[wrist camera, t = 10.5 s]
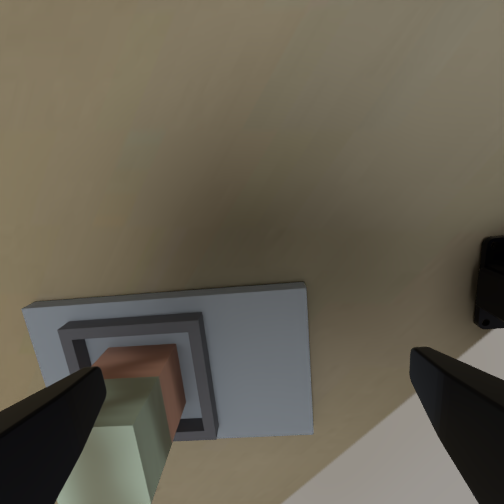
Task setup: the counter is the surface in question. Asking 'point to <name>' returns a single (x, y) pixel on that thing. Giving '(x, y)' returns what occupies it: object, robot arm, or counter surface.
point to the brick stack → (130, 427)
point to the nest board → (197, 351)
